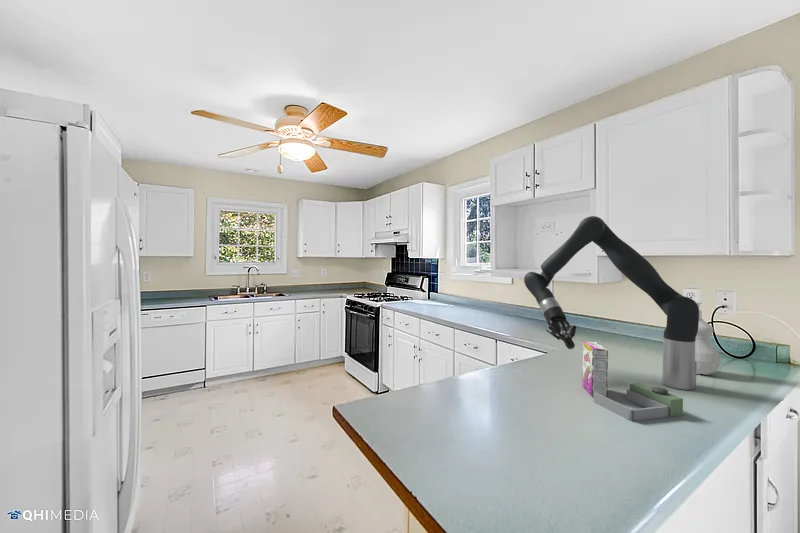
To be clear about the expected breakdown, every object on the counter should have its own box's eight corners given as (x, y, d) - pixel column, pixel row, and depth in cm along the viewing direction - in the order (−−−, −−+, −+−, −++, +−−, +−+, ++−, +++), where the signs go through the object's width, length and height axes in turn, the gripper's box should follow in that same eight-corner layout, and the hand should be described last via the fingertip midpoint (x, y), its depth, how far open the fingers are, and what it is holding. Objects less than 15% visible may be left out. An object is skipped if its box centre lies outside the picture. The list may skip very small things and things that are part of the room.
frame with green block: (640, 397, 118) (641, 379, 118) (682, 415, 104) (683, 395, 104) (594, 402, 113) (594, 383, 113) (631, 421, 100) (632, 400, 100)
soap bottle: (726, 376, 142) (728, 303, 142) (711, 379, 137) (714, 304, 137) (678, 364, 157) (680, 299, 157) (663, 367, 152) (665, 300, 152)
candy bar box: (581, 385, 128) (582, 341, 128) (596, 387, 127) (597, 341, 127) (591, 397, 117) (592, 348, 117) (607, 398, 116) (609, 349, 116)
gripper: (542, 305, 141) (561, 343, 129) (570, 305, 144) (592, 342, 133) (533, 316, 146) (552, 353, 135) (561, 316, 149) (581, 352, 138)
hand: (571, 348), depth 134 cm, fingers closed
